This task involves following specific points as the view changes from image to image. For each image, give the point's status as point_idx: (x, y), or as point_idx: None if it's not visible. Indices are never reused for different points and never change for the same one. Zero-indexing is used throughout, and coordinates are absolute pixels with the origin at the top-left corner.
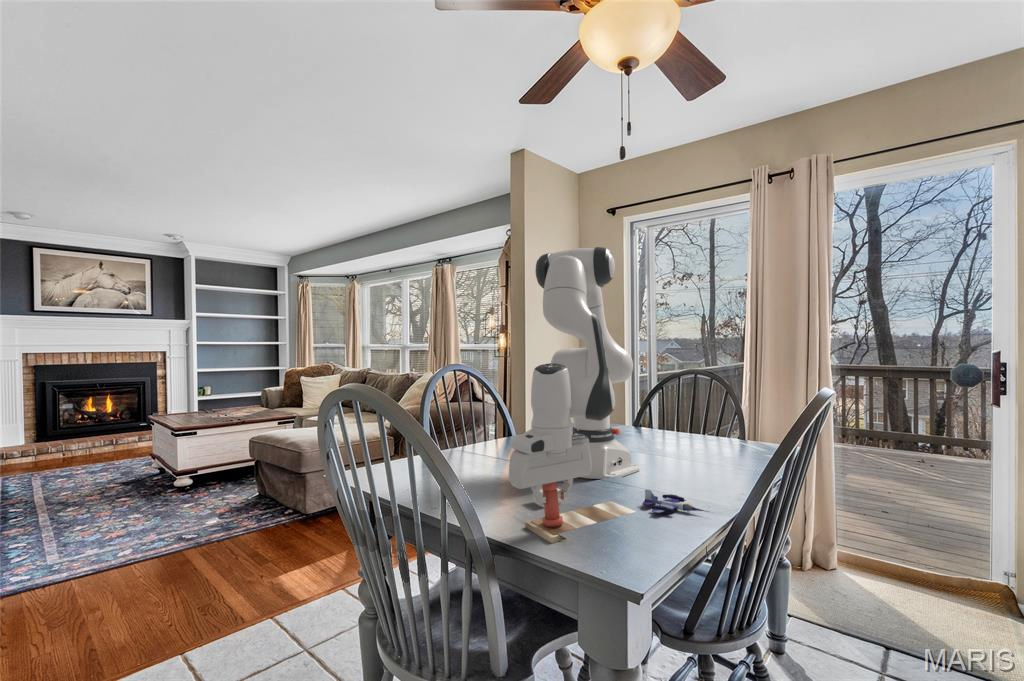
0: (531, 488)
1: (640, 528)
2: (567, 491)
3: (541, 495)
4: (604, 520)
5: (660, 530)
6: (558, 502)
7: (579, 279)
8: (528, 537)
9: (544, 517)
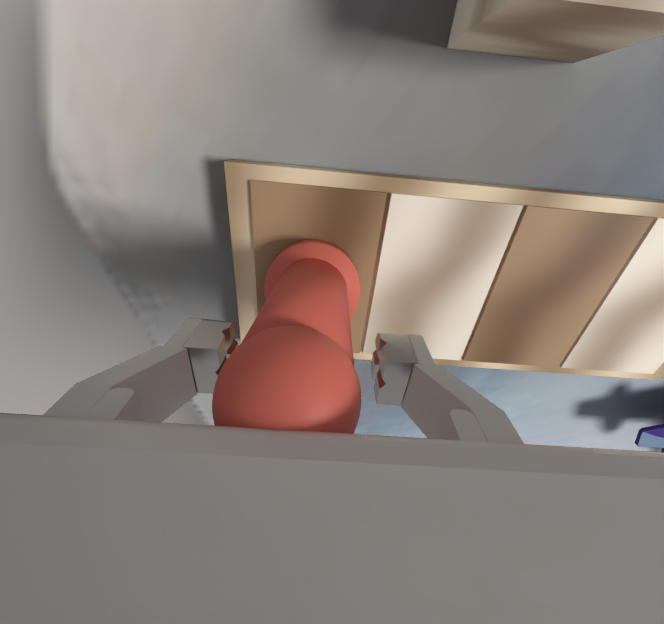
0: (78, 390)
1: (539, 406)
2: (409, 405)
3: (179, 403)
4: (494, 362)
5: (555, 436)
6: (589, 48)
7: None
8: (197, 257)
9: (291, 255)
